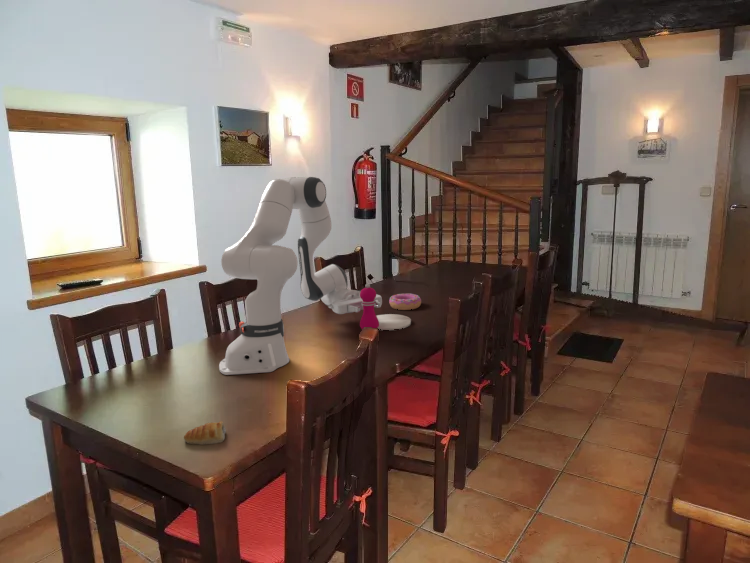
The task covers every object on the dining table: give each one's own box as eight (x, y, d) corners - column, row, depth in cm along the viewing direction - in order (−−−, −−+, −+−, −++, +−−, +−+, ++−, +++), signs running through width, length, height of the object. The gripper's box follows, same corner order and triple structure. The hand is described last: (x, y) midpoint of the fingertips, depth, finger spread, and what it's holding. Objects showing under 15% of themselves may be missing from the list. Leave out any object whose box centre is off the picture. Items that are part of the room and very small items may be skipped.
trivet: (372, 332, 204) (372, 328, 204) (361, 320, 221) (361, 317, 221) (417, 327, 208) (417, 323, 208) (402, 315, 225) (402, 312, 225)
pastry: (183, 449, 123) (181, 434, 122) (186, 436, 129) (184, 421, 128) (225, 443, 125) (223, 428, 124) (226, 430, 131) (224, 415, 131)
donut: (421, 302, 246) (421, 292, 245) (421, 311, 233) (420, 299, 232) (390, 303, 248) (390, 292, 247) (388, 311, 234) (387, 300, 233)
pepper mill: (377, 338, 196) (375, 285, 192) (358, 338, 198) (355, 285, 194) (381, 332, 203) (379, 281, 199) (362, 332, 205) (360, 281, 201)
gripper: (325, 297, 202) (345, 304, 191) (368, 289, 214) (390, 294, 203) (326, 313, 203) (346, 321, 192) (369, 304, 215) (390, 310, 204)
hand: (369, 307), depth 198 cm, fingers open, 8 cm apart
